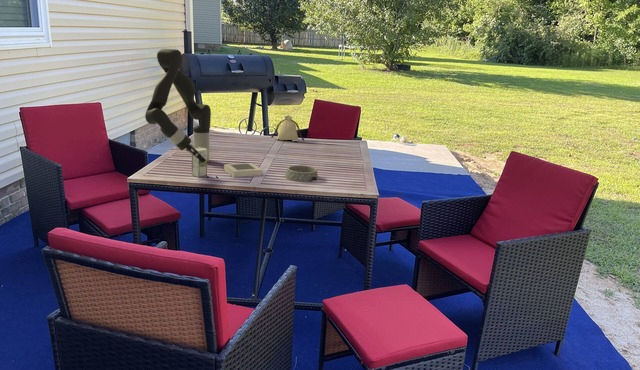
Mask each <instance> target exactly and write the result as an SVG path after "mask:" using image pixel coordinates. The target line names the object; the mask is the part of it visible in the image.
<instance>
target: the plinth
mask: <svg viewBox="0 0 640 370" xmlns="http://www.w3.org/2000/svg"><path fill="white" fill-rule="evenodd" d="M223 167H224V168H223V170H224V171H225V172H226V173H228V174H229V175H230V176H232V177H233V178H237V177H239V178H240V177H251V176H252V177H253V176H254V177H255V176H262V175H263V169H262V168H260V167H259V166H257V165H256V164H254V163H252V162H246V163H228V164H223Z"/></svg>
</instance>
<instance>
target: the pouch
mask: <svg viewBox="0 0 640 370" xmlns="http://www.w3.org/2000/svg"><path fill="white" fill-rule="evenodd" d="M293 118H294V117H293V116H291V115H290V114H289V115H285V116H284V119H283V120H280V122H279V123H278V124H277V126H276V127H275V130H274V133H273V134H272V135H271V137H270V138H271V139H273V138H274V137H275V135H276V134H277V132H278V134H277V137H276V139H279V140H299V137H300V138H301V140H302V141H303V142H304V141H305V138H304V137H303V136H302V133H301V130H300V127H299V125H298V123H297V121H295V120H293ZM278 129H279V131H278ZM298 135H299V136H298ZM299 141H300V140H299Z"/></svg>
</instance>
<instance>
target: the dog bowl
mask: <svg viewBox="0 0 640 370" xmlns="http://www.w3.org/2000/svg"><path fill="white" fill-rule="evenodd" d="M318 174H319V173H318V169H317V168H316V167H313V166H309V165H304V164H303V165H302V164H300V165H299V164H298V165H295V164H294V165H290V166H288V167H287V169H286V172H285V175H284V177H285V178H284V179H286V180H288V181H291V182H296V183H297V182H298V183H309V181H310V180H313V179H314V178H316V181H318V180H319V175H318Z"/></svg>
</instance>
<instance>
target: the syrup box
mask: <svg viewBox="0 0 640 370" xmlns="http://www.w3.org/2000/svg"><path fill="white" fill-rule="evenodd" d="M195 149H196V150H197V151H198V153H199V154H201V156H202V157H203V158H204V159H205V160H206V161H205V162H204V163H202V162H201V161H200V160H199V159H198V158H196V157H195V156H193V155H192V154H191V175H192V176H194V177H197V178H201V177H206V176H207V175H208V162H207V149H205V148H201V147H200V148H195ZM198 153H197V154H196V156H197V155H198Z"/></svg>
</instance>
